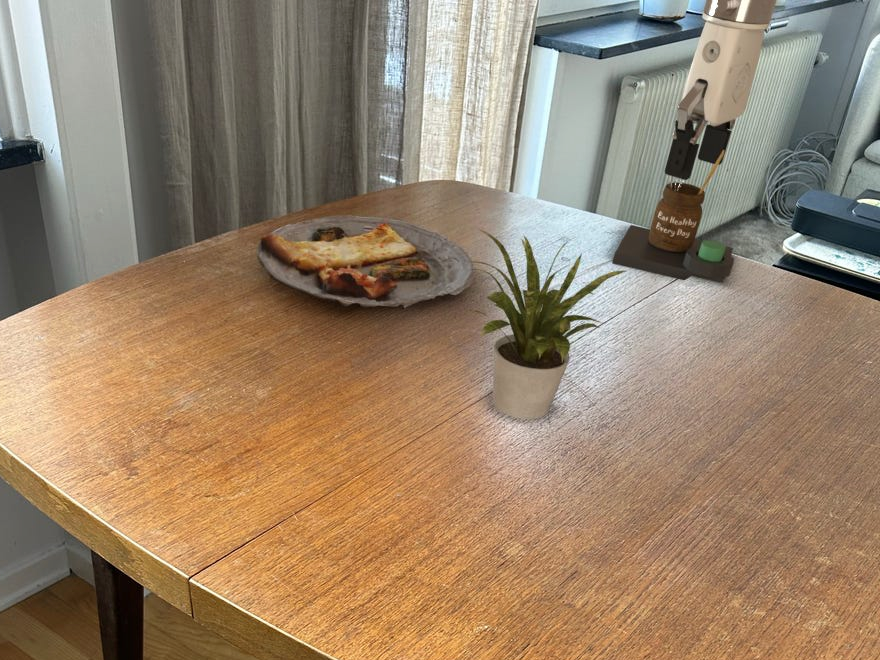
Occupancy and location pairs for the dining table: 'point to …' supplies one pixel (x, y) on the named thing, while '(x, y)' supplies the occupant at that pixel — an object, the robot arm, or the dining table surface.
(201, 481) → the dining table surface
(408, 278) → the food plate
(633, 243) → the green push button base
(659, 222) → the utensil holder
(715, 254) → the button
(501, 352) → the house plant
